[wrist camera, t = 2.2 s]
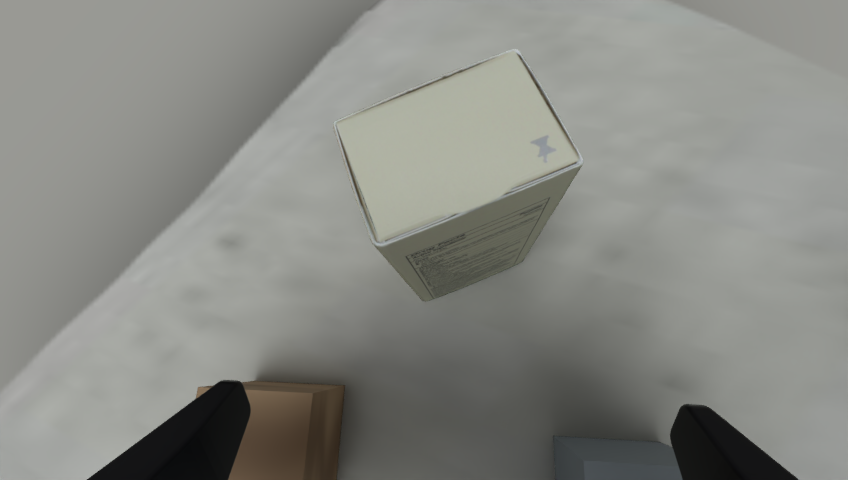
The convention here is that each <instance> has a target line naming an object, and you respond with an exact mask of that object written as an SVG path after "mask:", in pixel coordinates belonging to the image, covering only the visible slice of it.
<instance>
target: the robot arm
mask: <svg viewBox="0 0 848 480" xmlns="http://www.w3.org/2000/svg"><path fill="white" fill-rule="evenodd" d="M250 413H251V406H250V403H249V400H248V397H247V394H246V391H245V388H244V386H243V384H242V383H241V382H240V381H234V380H223V381H220V382H218V383H217V384H215V385H214V386H213V387H211V388H210V389H209V390H207V391H206V392H205V393H203V394H202V395H200V396H199V397H198V398H196V399H195V400H194V401H192V402H191V403H190V404H188V405H187V406H186V407H184V408H183V409H182V410H180V411H179V412H178V413H176V414H175V415H174V416H172V417H171V418H169V419H168V420H167V421H165V422H164V423H163V424H161V425H160V426H159V427H157V428H156V429H155V430H153V431H152V432H151V433H149V434H148V435H147V436H145V437H144V438H143V439H141V440H140V441H138V442H137V443H136V444H134V445H133V446H132V447H130V448H129V449H128V450H126V451H125V452H124V453H122V454H121V455H120V456H118V457H117V458H116V459H114V460H113V461H112V462H110V463H109V464H107V465H106V466H105V467H103V468H102V469H101V470H99V471H98V472H97V473H95V474H94V475H93V476H91V477H90V478H89V479H87V480H228V479H229V476H230V473H231V470H232V467H233V464H234V461H235V459H236V456H237V453H238V450H239V447H240V444H241V441H242V438H243V435H244V433H245V430H246V427H247V424H248V421H249V418H250ZM670 439H671V444H672V447H673V450H674V453H675V457H676V460H677V463H678V466H679V470H680V473H681V476H682V479H683V480H798V479H797V478H796V477H795V476H793V475H792V474H791V473H790V472H789V471H787V470H786V469H785V468H784V467H782V466H781V465H780V464H779V463H777V462H776V461H775V460H774V459H772V458H771V457H770V456H769V455H768V454H766V453H765V452H764V451H763V450H761V449H760V448H759V447H758V446H756V445H755V444H754V443H753V442H751V441H750V440H749V439H748V438H747V437H745V436H744V435H743V434H742V433H740V432H739V431H738V430H737V429H735V428H734V427H733V426H732V425H730V424H729V423H728V422H727V421H726V420H724V419H723V418H722V417H721V416H719V415H718V414H717V413H716V412H714V411H713V410H712V409H710V408H709V407H707V406H704V405H693V404H684V405H683V406H681V407H680V409H679V412H678V414H677V417H676V419H675V421H674V424H673V426H672V429H671V433H670Z"/></svg>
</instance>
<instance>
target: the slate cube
mask: <svg viewBox="0 0 848 480" xmlns="http://www.w3.org/2000/svg"><path fill="white" fill-rule="evenodd" d="M553 438H554V460H555V480H683V479H682V476H681V473H680V470H679V466H678V463H677V460H676V457H675V453H674V450H673V448H672V447H670V446H668V445H665V444H663V443H660V442H649V441H632V440H615V439H597V438H580V437H563V436H553Z"/></svg>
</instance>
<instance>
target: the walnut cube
mask: <svg viewBox="0 0 848 480" xmlns="http://www.w3.org/2000/svg"><path fill="white" fill-rule="evenodd" d="M241 383H242V384H243V386H244V388H245V391H246V394H247V397H248V400H249V403H250V406H251V413H250V418H249V421H248V424H247V427H246V430H245V433H244V435H243V438H242V441H241V444H240V447H239V450H238V453H237V456H236V459H235V461H234V464H233V467H232V470H231V473H230V476H229V479H228V480H336V479H337V468H338V457H339V446H340V435H341V424H342V413H343V402H344V391H345V385H325V384H305V383H285V382H265V381H250V382H241ZM211 387H213V386H205V387H198V391H197V396H196V398H198V397H199V396H200V395H202V394H203V393H205V392H206V391H207V390H209V389H210V388H211Z"/></svg>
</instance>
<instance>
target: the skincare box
mask: <svg viewBox="0 0 848 480" xmlns="http://www.w3.org/2000/svg"><path fill="white" fill-rule="evenodd" d="M333 129H334V132H335V135H336V138H337V141H338V144H339V147H340V151H341V154H342V157H343V161H344V164H345V167H346V170H347V173H348V177H349V180H350V183H351V186H352V189H353V192H354V194H355V197H356V201H357V204H358V207H359V209H360V212H361V215H362V218H363V220H364V223H365V226H366V229H367V232H368V234H369V237H370V240H371V242H372V244H373V245H374V246H375V247H376V248H377V249H378V250H379V251H380V252H381V254H382V255H383V256H384V257H385V258H386V259H387V261H388V262H389V263H390V264H391V265H392V266H393V268H394V269H395V270H396V271H397V272H398V273H399V274H400V275H401V277H402V278H403V279H404V280H405V282H406V283H407V284H408V285H409V286H410V287H411V288H412V289H413V291H414V292H415V293H416V294H417V295H418V296H419V297H420V299H421V300H422V301H429V300H432V299H434V298H437V297H440V296H443V295H445V294H448V293H450V292H453V291H455V290H458V289H461V288H463V287H465V286H468V285H470V284H473V283H475V282H477V281H480V280H482V279H485V278H487V277H489V276H492V275H494V274H496V273H499V272H501V271H503V270H505V269H508V268H510V267H512V266H514V265H516V264H519V263H521V262H522V261H523V260H524V258H525V256H526V255H527V253H528V252H529V250H530V249H531V247H532V245H533V244H534V242H535V240H536V239H537V237H538V236H539V234H540V232H541V231H542V229H543V228H544V226H545V224H546V223H547V221H548V219H549V218H550V216H551V215H552V213H553V212H554V210H555V208H556V207H557V205H558V204H559V202H560V200H561V199H562V197H563V195H564V194H565V192H566V191H567V189H568V187H569V186H570V184H571V182H572V181H573V179H574V178H575V176H576V175H577V173H578V171H579V170H580V168H581V167H582V165H583V162H584V160H583V158H582V156H581V154H580V152H579V151H578V149H577V147H576V146H575V144H574V142H573V140H572V138H571V136H570V134H569V132H568V131H567V129H566V128H565V126H564V124H563V122H562V120H561V118H560V116H559V115H558V113H557V111H556V110H555V108H554V106H553V104H552V103H551V101H550V99H549V97H548V95H547V94H546V92H545V90H544V89H543V87H542V85H541V84H540V82H539V80H538V78H537V77H536V75H535V74H534V72H533V70H532V69H531V68H530V67H529V65H528V64H527V62H526V60H525V59H524V57H523V55H522V54H521V52H520V51H519V50H517V49H513V50H509V51H507V52H504V53H501V54H498V55H494V56H492V57H489V58H487V59H484V60H481V61H478V62H476V63H473V64H470V65H468V66H465V67H463V68H459V69H457V70H455V71H452V72H450V73H447V74H445V75H442V76H440V77H438V78H435V79H432V80H430V81H427V82H425V83H423V84H420V85H418V86H415V87H413V88H411V89H408V90H406V91H403V92H401V93H399V94H396V95H394V96H392V97H389V98H387V99H384V100H382V101H379V102H377V103H375V104H373V105H371V106H369V107H366V108H363V109H361V110H359V111H357V112H355V113H353V114H350V115H348V116H346V117H343V118H341V119H339V120H336V121H335V122H334V123H333Z"/></svg>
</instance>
